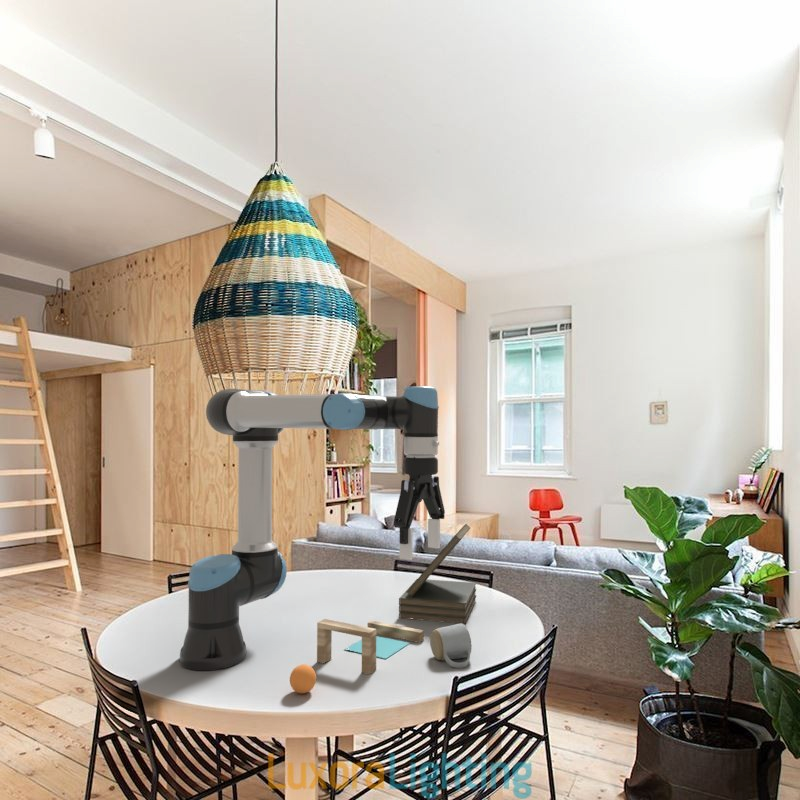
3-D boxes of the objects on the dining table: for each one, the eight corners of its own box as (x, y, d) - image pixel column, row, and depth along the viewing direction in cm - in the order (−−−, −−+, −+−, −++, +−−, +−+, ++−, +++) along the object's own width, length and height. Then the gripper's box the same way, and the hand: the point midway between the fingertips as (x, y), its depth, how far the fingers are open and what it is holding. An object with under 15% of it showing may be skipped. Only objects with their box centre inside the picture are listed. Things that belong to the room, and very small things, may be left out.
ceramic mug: (428, 654, 149) (428, 622, 149) (458, 650, 152) (458, 619, 152) (446, 672, 139) (447, 638, 139) (478, 667, 142) (479, 633, 142)
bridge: (369, 674, 137) (369, 632, 137) (316, 662, 144) (317, 622, 144) (376, 669, 139) (376, 629, 140) (324, 657, 146) (324, 618, 147)
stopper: (367, 632, 164) (367, 622, 165) (371, 629, 166) (371, 620, 166) (420, 642, 157) (420, 632, 157) (423, 640, 158) (423, 630, 159)
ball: (284, 694, 126) (284, 667, 127) (300, 684, 131) (301, 658, 131) (305, 700, 124) (305, 672, 124) (321, 690, 128) (321, 663, 129)
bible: (416, 597, 199) (416, 520, 200) (476, 602, 194) (476, 523, 195) (398, 619, 176) (398, 532, 177) (465, 625, 171) (465, 535, 172)
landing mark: (344, 650, 151) (344, 649, 151) (369, 635, 162) (369, 634, 162) (385, 659, 145) (385, 658, 145) (409, 643, 156) (409, 642, 156)
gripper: (409, 459, 122) (408, 566, 121) (458, 454, 144) (458, 545, 143) (377, 458, 126) (376, 562, 125) (430, 453, 148) (430, 541, 147)
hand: (420, 553), depth 134 cm, fingers open, 13 cm apart
